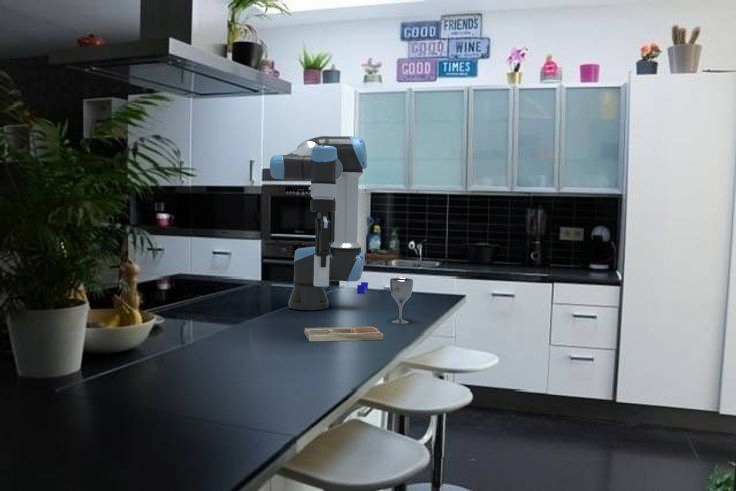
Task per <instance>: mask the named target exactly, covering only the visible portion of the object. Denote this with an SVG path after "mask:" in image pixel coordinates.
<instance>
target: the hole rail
mask: <svg viewBox="0 0 736 491" xmlns="http://www.w3.org/2000/svg"><path fill="white" fill-rule="evenodd" d="M304 335H305V336H306V338H307V340H308V342H343V341H344V342H348V341H350V342H351V341H354V342H355V341H384V334H383V332H381V331H380V330H379V329H378V328H377V327H374V326H350V327H348V326H347V327H345V326H344V327H304Z"/></svg>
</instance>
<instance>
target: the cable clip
mask: <svg viewBox="0 0 736 491" xmlns="http://www.w3.org/2000/svg"><path fill="white" fill-rule="evenodd" d="M356 288H357V289H356V294H358V295H364V294H366V292H367V291H368V290H369V282H366V281H362V282H360V284H357V285H356Z"/></svg>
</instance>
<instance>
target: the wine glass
mask: <svg viewBox="0 0 736 491" xmlns="http://www.w3.org/2000/svg"><path fill="white" fill-rule="evenodd" d="M413 286H414V279H413V278H408V277H406V278H405V277H404V278H403V277H391V278H389V287H390V295H391V297H393V299H394V301H395V302H396V304H397V305H398V310H399V311H398V313H399V314H398V315H399V317H398V319H396V320H391V323H393V324H397V325H404V324H408V323H409V321H407V320H404V319H403V318H402V316H403V315H402V314H403V307H404V305H405V303H406V302H407V301H408V299H409V298H410V297H411V296H412V293H413V288H414V287H413Z"/></svg>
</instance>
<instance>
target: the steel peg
mask: <svg viewBox="0 0 736 491" xmlns="http://www.w3.org/2000/svg"><path fill="white" fill-rule="evenodd" d="M329 259H330V256H328V267H327V278H318V256H317V255H314V286H324V287H329V286H330V281H329Z"/></svg>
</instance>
